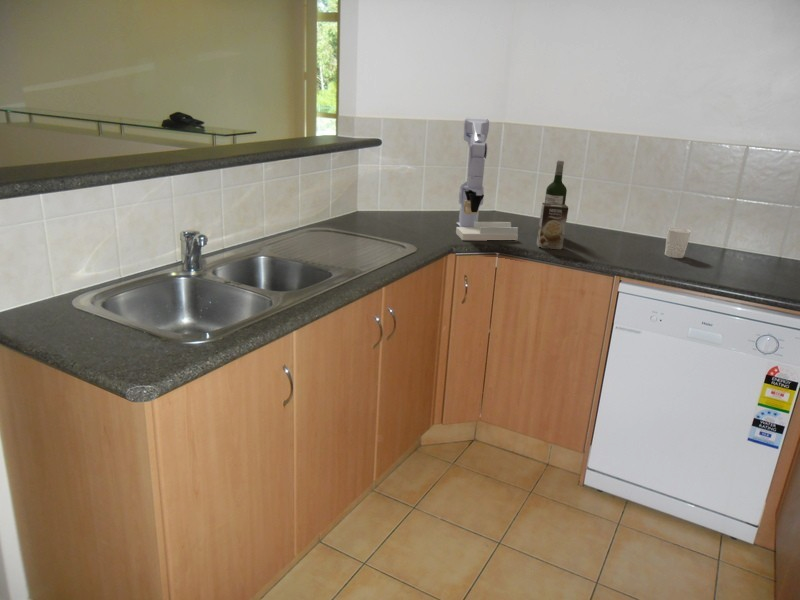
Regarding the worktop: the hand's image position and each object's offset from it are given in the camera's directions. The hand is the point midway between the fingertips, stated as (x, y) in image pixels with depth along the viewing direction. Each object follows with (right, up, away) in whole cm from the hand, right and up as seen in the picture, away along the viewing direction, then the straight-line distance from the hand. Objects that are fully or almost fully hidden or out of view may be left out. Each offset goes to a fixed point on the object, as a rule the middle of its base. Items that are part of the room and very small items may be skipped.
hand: (472, 210), depth 246 cm
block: (-1, -1, 0) cm, 1 cm away
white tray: (+6, -10, +5) cm, 12 cm away
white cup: (+75, -18, -8) cm, 77 cm away
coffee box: (+29, -15, -5) cm, 32 cm away
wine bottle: (+33, -9, +12) cm, 36 cm away
